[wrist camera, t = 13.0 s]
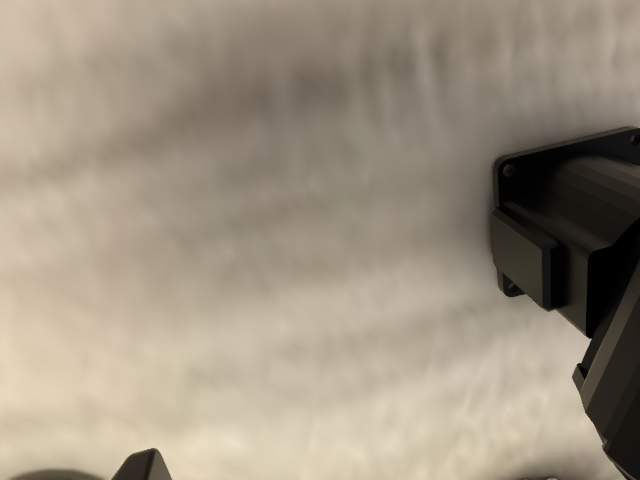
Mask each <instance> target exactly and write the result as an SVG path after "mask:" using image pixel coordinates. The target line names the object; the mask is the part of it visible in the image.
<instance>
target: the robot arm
mask: <svg viewBox="0 0 640 480" xmlns="http://www.w3.org/2000/svg"><path fill="white" fill-rule="evenodd" d="M633 135H634V140H633V141H632V143H630V139H631V138H632V136H633ZM509 164H510V170H509V171H508V172H507V173H506V174H504V173H503V170H504V168H505V167H506V166H507V165H509ZM493 182H494V201H495V208H494V209H493V211H492V213H491V227H492V245H493V262H494V265H495V266H496V267H497V268H498V277H499V288H500V290H501V291H502V292H503V293H504V294H505V295H506V296H508V297H516V296H519V295H523V294H527V295H528V296H529V297H530V298H531V299H532V300H533V301H535V302H536V303H537V304H538V305H539V306H540V307H541V308H543V309H544V310H546V311H548V312H550V311H553V310H557V311H558V312H559V313H560V314H561V315H562V316H563V317H565V318H566V319H567V320H568V321H569V322H570V323H571V324H573V325H574V326H575V327H576V328H577V329H578V330H579V331H581V332H582V333H583V334H584V335H585V336H586V337H588V338H589V339H592V340H591V342H590V344H589V347H588V349H587V351H586V353H585V356H584V358H583V360H582V363H578V364H577V366H576V368H575V370H574V373H573V375H572V379H573V381H574V383H575V385H576V387H577V389H578V391H579V394H580V396H581V400H582V403H583V407H584V410H585V413H586V414H587V415H588V417H589V418H590V420H591V421H592V422H593V424H594V425H595V428H596V430H597V432H598V434H599V436H600V438H601V440H602V443H603V445H602V448H603V451H604V452H605V454H606V455H607V457H608V459H609V460H610V461H611V462H613V463H614V465H615V467H616V468H617V469H618V470H619V471H620V472H621V473H622V474H623V476H624V477H625V478H626V479H627V480H640V128H638V127H634V126H633V127H626V128H621V129H617V130H613V131H609V132H604V133H600V134H596V135H592V136H588V137H583V138H579V139H575V140H571V141H566V142H562V143H558V144H554V145H549V146H545V147H541V148H537V149H532V150H528V151H524V152H520V153H516V154H511V155H507V156H503V157H501V158H499V159H498V160H497V161H496V162H495V164H494V167H493ZM513 282H514V285H513V286H512V287H511V288H509V285H510V284H511V283H513ZM112 480H172V478H171V476H170V474H169V471H168V469H167V467H166V464H165V462H164V460H163V458H162V455H161V453H160V452H159V451H158V450H157V449H155V448H151V449H147V450H144V451H140V452H137V453H133V454H131V455H130V456H129V457H128V458H127V459H126V460H125V462H124V463H123V464H122V466H121V467H120V469H119V470H118V471H117V473H116V474H115V475H114V477H113V478H112Z"/></svg>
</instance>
